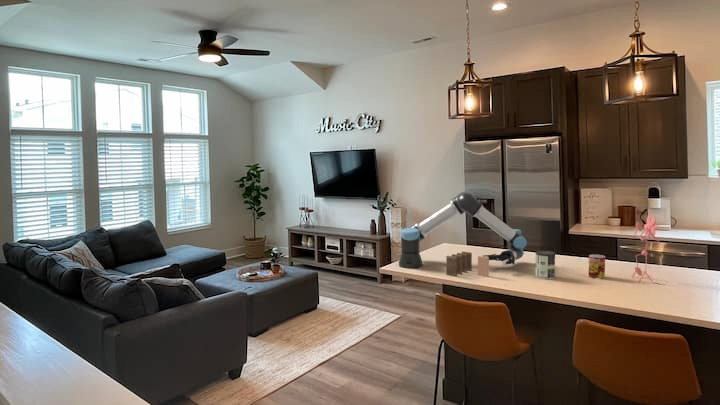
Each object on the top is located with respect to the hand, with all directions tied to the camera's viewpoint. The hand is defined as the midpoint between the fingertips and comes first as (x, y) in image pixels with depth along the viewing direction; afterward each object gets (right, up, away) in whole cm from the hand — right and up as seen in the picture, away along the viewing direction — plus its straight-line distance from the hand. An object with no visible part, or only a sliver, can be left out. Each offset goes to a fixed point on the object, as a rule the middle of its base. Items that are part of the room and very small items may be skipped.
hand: (492, 262), depth 252 cm
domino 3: (-17, -6, +3) cm, 19 cm away
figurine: (+78, -7, -22) cm, 82 cm away
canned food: (+54, -7, -14) cm, 56 cm away
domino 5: (-7, -7, -7) cm, 12 cm away
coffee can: (+26, -7, -12) cm, 30 cm away
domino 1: (-25, -7, -5) cm, 26 cm away
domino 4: (-13, -6, +7) cm, 16 cm away
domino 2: (-21, -7, -1) cm, 22 cm away
